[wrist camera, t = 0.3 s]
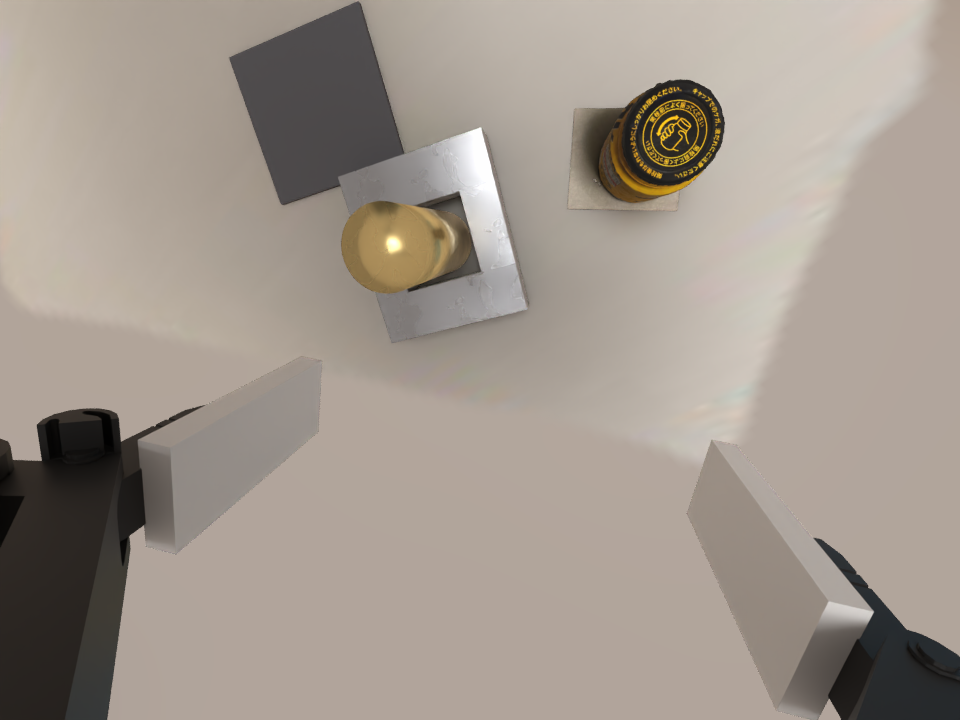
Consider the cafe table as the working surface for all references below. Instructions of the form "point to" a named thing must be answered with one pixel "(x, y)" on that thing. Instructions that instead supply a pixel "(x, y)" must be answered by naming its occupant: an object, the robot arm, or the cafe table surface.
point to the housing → (473, 177)
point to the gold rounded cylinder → (402, 245)
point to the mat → (318, 103)
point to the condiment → (644, 148)
